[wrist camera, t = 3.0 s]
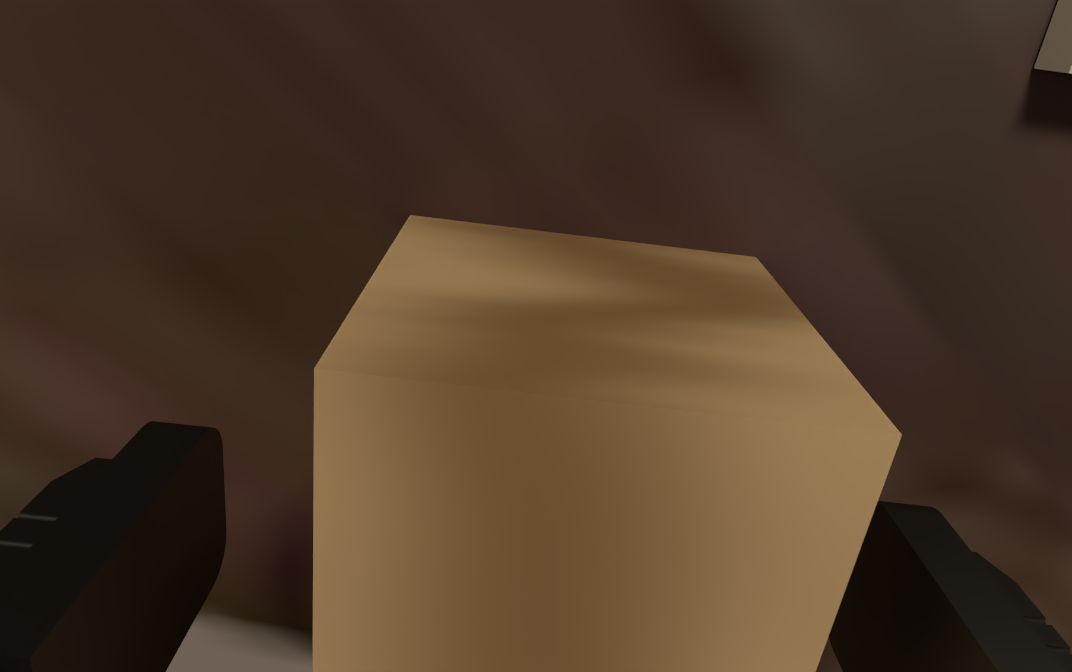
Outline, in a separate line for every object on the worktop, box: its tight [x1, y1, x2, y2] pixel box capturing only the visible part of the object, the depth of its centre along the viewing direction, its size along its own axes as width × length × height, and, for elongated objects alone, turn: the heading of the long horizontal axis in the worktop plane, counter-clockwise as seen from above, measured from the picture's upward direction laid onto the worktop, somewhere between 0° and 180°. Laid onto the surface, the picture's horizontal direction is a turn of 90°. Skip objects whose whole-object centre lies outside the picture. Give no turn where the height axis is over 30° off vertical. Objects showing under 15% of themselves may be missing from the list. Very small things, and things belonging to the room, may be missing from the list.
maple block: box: [313, 215, 902, 672], centre depth 11 cm, size 6×6×6 cm
